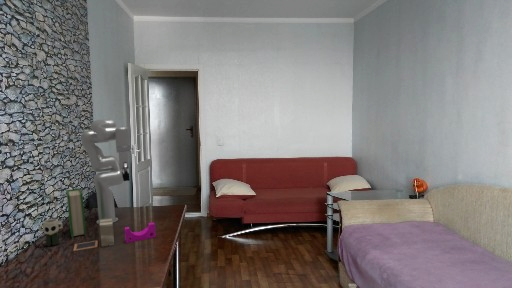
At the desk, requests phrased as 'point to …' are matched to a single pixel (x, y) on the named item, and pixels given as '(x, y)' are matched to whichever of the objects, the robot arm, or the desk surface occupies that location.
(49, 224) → the character mug
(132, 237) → the toy block
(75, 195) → the hardback book
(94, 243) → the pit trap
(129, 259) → the desk surface
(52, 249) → the desk surface
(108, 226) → the tunnel
